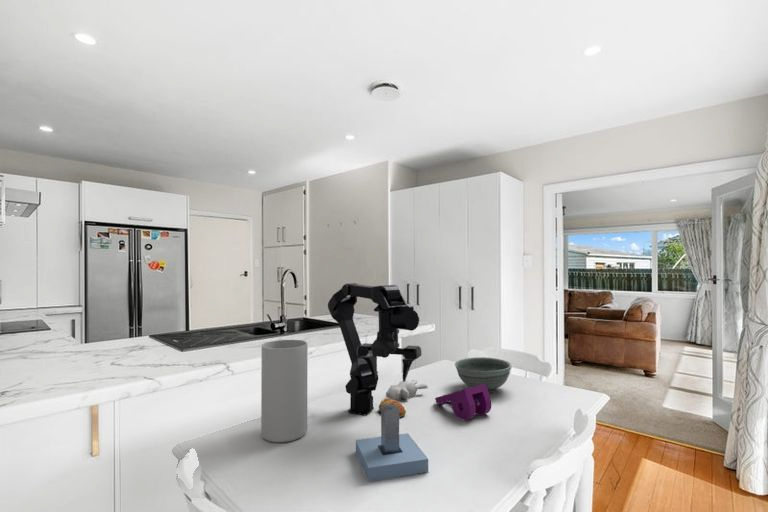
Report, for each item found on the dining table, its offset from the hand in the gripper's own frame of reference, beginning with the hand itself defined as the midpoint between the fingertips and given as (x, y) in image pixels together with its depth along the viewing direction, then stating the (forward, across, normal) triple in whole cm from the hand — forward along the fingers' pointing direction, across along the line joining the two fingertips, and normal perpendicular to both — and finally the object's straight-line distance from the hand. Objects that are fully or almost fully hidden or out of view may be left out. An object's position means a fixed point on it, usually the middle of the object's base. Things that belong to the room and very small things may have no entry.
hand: (389, 380), depth 116 cm
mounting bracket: (+14, +17, +19) cm, 29 cm away
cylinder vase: (+13, -26, -16) cm, 33 cm away
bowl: (+13, +21, +43) cm, 49 cm away
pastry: (+13, -3, +9) cm, 16 cm away
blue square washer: (+13, +7, -20) cm, 25 cm away
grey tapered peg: (+13, +8, -20) cm, 25 cm away
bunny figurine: (+13, -3, +25) cm, 28 cm away
